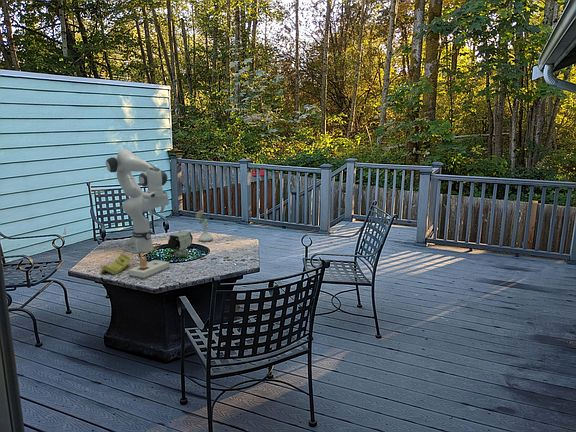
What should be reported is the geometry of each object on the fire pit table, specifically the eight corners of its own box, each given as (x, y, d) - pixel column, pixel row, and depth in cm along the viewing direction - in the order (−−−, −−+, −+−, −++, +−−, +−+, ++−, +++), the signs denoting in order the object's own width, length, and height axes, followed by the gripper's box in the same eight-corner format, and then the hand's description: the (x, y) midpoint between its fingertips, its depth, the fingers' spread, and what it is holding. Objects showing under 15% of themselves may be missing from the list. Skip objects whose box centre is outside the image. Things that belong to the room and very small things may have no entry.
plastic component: (116, 271, 260) (102, 264, 261) (113, 281, 263) (99, 274, 263) (133, 259, 279) (119, 252, 279) (130, 268, 282) (116, 261, 282)
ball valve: (178, 260, 288) (176, 235, 285) (168, 259, 292) (166, 233, 288) (195, 253, 304) (194, 229, 300) (185, 252, 308) (184, 228, 304)
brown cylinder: (139, 273, 260) (137, 257, 258) (144, 271, 264) (142, 255, 262) (143, 274, 258) (142, 258, 257) (148, 272, 262) (147, 256, 260)
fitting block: (143, 279, 253) (143, 272, 252) (129, 276, 259) (128, 269, 258) (169, 268, 273) (169, 262, 272) (155, 265, 278) (154, 259, 277)
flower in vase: (208, 238, 346) (207, 207, 341) (215, 240, 338) (214, 209, 332) (193, 240, 338) (192, 209, 333) (200, 243, 329) (199, 211, 324)
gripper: (163, 190, 287) (164, 210, 290) (140, 194, 269) (141, 216, 272) (170, 191, 285) (171, 211, 288) (147, 195, 267) (149, 217, 270)
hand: (156, 214), depth 280 cm, fingers open, 8 cm apart
